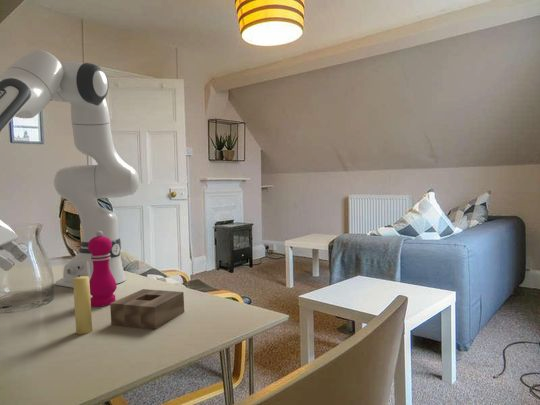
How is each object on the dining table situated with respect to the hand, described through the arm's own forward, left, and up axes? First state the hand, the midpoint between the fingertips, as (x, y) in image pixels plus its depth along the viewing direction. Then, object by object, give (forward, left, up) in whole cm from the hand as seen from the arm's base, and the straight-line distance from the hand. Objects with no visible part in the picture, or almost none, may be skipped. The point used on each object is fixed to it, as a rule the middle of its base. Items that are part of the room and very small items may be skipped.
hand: (18, 263), depth 82 cm
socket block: (+18, +18, -16) cm, 30 cm away
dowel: (+9, +7, -16) cm, 20 cm away
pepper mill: (-2, +25, -17) cm, 30 cm away
